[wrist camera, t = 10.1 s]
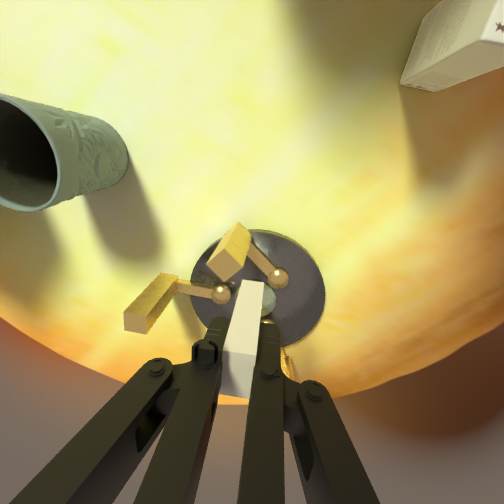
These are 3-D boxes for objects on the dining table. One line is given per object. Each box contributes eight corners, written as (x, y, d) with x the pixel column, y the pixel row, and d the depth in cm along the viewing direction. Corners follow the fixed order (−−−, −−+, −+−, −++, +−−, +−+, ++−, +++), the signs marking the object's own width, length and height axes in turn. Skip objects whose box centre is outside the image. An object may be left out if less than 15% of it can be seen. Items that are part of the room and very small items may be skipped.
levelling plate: (300, 209, 33) (302, 214, 31) (337, 327, 40) (341, 338, 37) (170, 253, 38) (163, 260, 35) (223, 353, 44) (220, 365, 42)
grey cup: (148, 169, 33) (83, 179, 22) (95, 206, 36) (14, 231, 25) (96, 92, 30) (-8, 60, 19) (43, 139, 33) (-75, 134, 22)
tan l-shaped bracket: (292, 276, 35) (296, 320, 26) (277, 288, 36) (276, 333, 27) (239, 220, 33) (224, 247, 24) (224, 234, 34) (205, 264, 25)
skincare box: (435, 93, 27) (542, 56, 16) (396, 84, 27) (476, 41, 16) (465, 23, 25) (615, -78, 14) (423, 13, 25) (538, -94, 14)
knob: (232, 285, 37) (217, 329, 28) (230, 301, 38) (215, 348, 29) (161, 271, 37) (123, 310, 28) (160, 287, 38) (124, 330, 29)
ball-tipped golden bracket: (255, 319, 39) (247, 371, 30) (272, 315, 38) (270, 366, 29) (277, 370, 42) (277, 430, 33) (294, 367, 41) (298, 427, 32)
